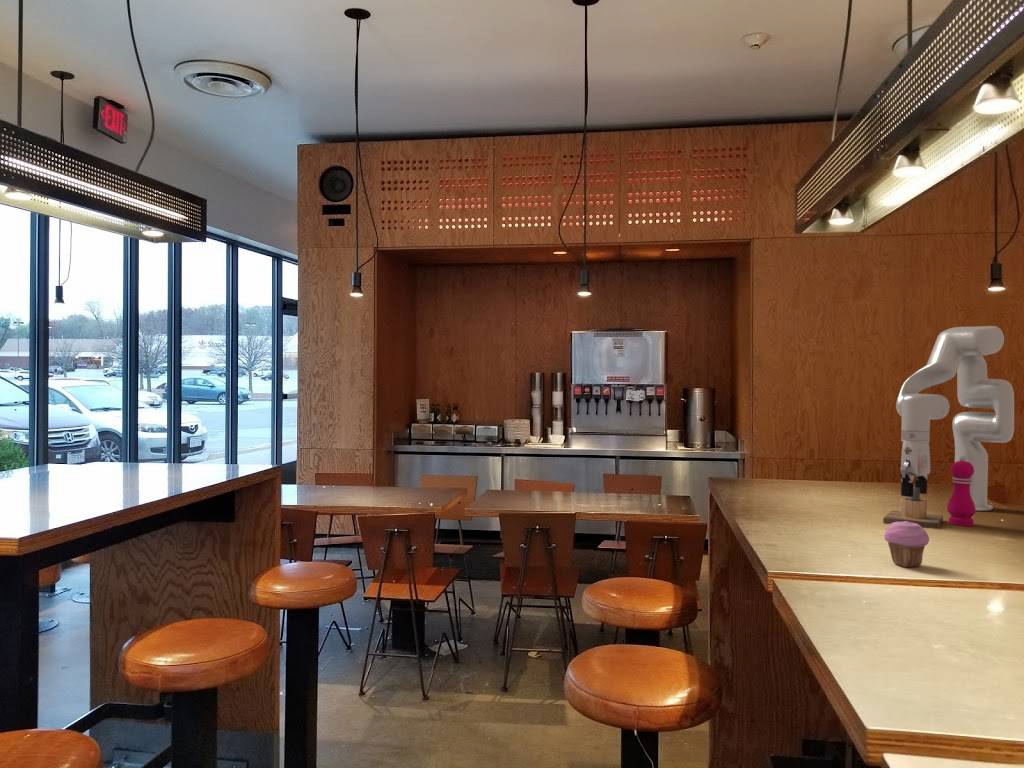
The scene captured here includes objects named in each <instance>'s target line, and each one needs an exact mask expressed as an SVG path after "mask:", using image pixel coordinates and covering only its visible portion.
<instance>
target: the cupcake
mask: <svg viewBox="0 0 1024 768" xmlns="http://www.w3.org/2000/svg"><path fill="white" fill-rule="evenodd" d="M884 540H885V541H886V542H887V545H888V547H889V552H890V557H891V560H892V563H894V564H895V565H897V566H898V565H899V566H900V567H903V568H909V567H920V566H922V563H923V557H924V556H923V555H924V551H925V547H926V546H927V545H928V544H929V542H930V537H929V535H928V533H927V531H926V530H925V528H924V527H921V526H920V525H919V524H916V523H913V522H908V521H904V522H894V523H891V524H888V526H887V528H886V529H885V533H884Z"/></svg>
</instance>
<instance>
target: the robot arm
mask: <svg viewBox="0 0 1024 768" xmlns="http://www.w3.org/2000/svg"><path fill="white" fill-rule="evenodd" d="M1004 343H1005V336H1004V333H1003V331H1002V329H1001V328H1000V327H998V326H996V325H987V326H986V325H983V326H981V325H980V326H978V325H977V326H956V327H951V328H947V329H946V330H943V331H941V332H940V333H939V334H938V335H937V338H936V340H935V342H934V345H933V348H932V350H931V352H930V355H929V358H928V360H927V363H926V364H925V365H924V366H922V367H921V368H920V369H918V370H917V371H915V372H914V373H913V374H912V375H910V376H909V377H907V379H906V380H905V381H904V382H903V384H902V386H901V388H900V391H899V393H898V396H897V398H896V404H895V408H896V411H897V412H896V413H897V414H898V415H899V416H900V417H901V430H900V431H901V436H900V441H901V442H902V446H901V447H902V448H901V459H900V469H899V471H900V477H901V478H900V483H901V488H900V490H901V491H900V493H901V494H900V495H901V496H902V497H906V498H908V497H913V487H917V488H920V495H921V494H923V495H926V494H928V480H929V479H928V478H929V477H928V475H930V473H931V452H930V451H931V450H930V444H929V443H931V442H930V435H931V420H942V419H944V418H946V416H948V414H949V412H950V408H951V407H950V406H951V405H950V401H949V400H948V398H947V397H946V396H944V395H942V394H935V393H933V394H932V393H920V392H921V391H923V390H925V389H928V388H929V387H933V386H936V385H939V384H943V383H945V382H948V381H949V380H952V379H953V378H954V377H955V376H956V374H957V376H956V378H957V379H956V380H957V400H958V403H959V404H960V406H962V407H965V408H971V409H975V408H976V409H990V410H991V409H993V410H994V412H985V411H982V412H981V411H963V412H959V413H957V414H956V415H955V416H954V417H953V419H952V432H953V440H954V463H955V462H957V461H960V460H959V457H960V456H965V457H966V460H965V461H966V462H969V463H970V464H972V466H973V467H974V474H973V475H972V476H971V479H972V480H971V482H972V483H971V484H970V494H971V497H972V500H973V502H974V504H975V510H976V511H981V512H982V511H983V512H985V511H986V512H987V511H992V510H993V505H990V504H988V478H989V477H988V475H989V472H988V471H989V454H988V452H987V450H986V449H985V447H984V446H983V445H982V443H1000V444H1001V443H1004V444H1005V443H1009V442H1010V441H1011V440H1012V438H1013V437H1014V433H1015V393H1014V392H1015V391H1014V387H1013V386H1012V383H1010V382H1009V381H1008V380H1005V379H1002V378H1001V379H1000V378H999V379H998V378H988V366H987V365H988V364H987V361H986V359H985V358H984V356H989V355H993V354H996V353H998V352H1000V351H1001V349H1002V348H1003V345H1004ZM981 442H982V443H981ZM915 477H916V479H915V480H914V478H915ZM913 481H914V483H915V484H914V483H913ZM914 485H915V486H914Z"/></svg>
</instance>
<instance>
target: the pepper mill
mask: <svg viewBox="0 0 1024 768" xmlns="http://www.w3.org/2000/svg"><path fill="white" fill-rule="evenodd" d="M959 460H960V461H957V462H955V461H954V462H953V463H952V464H951V466H950V473H951V474H952V475H953V477H952V483H953V492H952V494H951V497H950V499H949V500H948V503H947V509H946V510H947V512H948V514H949V515H950V516H949V517H948V524H949V525H953V526H958V527H959V526H960V527H972V526H974V519H973V518H972V517H973V516H974V515H975V514H976V511H977V510H975V504H974V502H973V500H972V497H971V494H970V484H971V483H972V482H971V480H972V479H971V476H972V475H973V474H974V467H973V466H972V464H970V463H969V462H966V461H965V460H966V457H965V456H960V457H959Z"/></svg>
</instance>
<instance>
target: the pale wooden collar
mask: <svg viewBox="0 0 1024 768" xmlns="http://www.w3.org/2000/svg"><path fill="white" fill-rule="evenodd" d="M927 501H928V500H927V499H924V498H920V501H911V500H908V497H901V498H900V510H899V511H900V515H901V516H902V517H906V518H915V519H925V517H926V514H927V509H928V508H927V507H928V506H927V505H928V504H927V503H928V502H927Z"/></svg>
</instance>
